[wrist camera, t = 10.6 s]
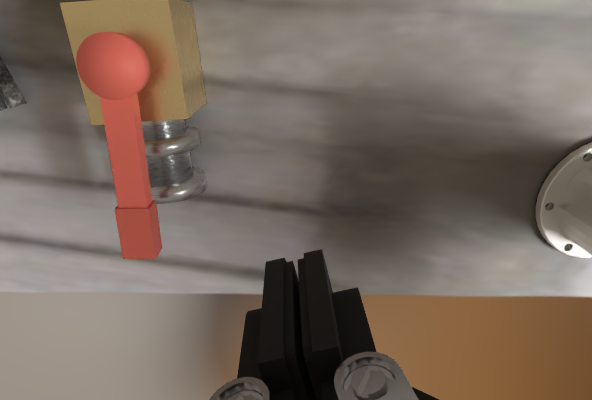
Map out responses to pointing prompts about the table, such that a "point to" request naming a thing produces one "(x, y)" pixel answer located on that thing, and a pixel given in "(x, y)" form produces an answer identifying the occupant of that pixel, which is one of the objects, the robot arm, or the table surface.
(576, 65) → the table surface
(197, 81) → the ball valve
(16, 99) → the valve
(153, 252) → the lever
